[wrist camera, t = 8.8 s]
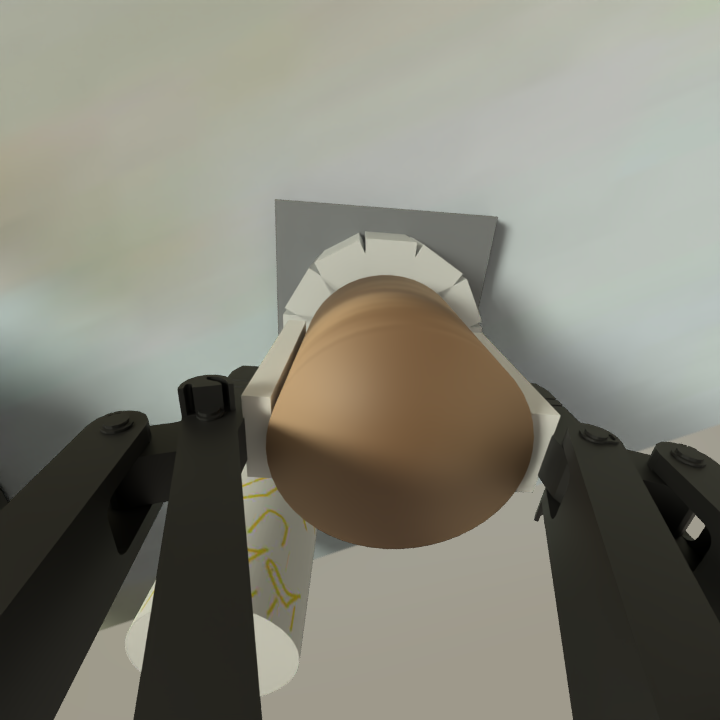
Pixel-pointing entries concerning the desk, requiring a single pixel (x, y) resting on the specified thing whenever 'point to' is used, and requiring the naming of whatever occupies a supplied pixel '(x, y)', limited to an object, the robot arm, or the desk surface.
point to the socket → (378, 254)
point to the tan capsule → (396, 420)
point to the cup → (263, 584)
